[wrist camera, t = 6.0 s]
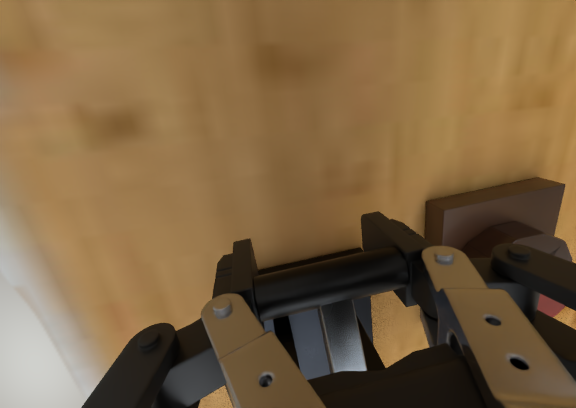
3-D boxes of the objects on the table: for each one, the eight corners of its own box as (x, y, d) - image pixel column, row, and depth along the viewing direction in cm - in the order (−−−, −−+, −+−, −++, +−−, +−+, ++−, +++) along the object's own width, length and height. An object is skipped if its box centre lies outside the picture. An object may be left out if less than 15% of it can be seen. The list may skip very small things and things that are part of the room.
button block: (425, 200, 18) (467, 223, 14) (538, 176, 18) (602, 192, 15) (422, 320, 21) (454, 360, 18) (516, 297, 22) (563, 331, 19)
